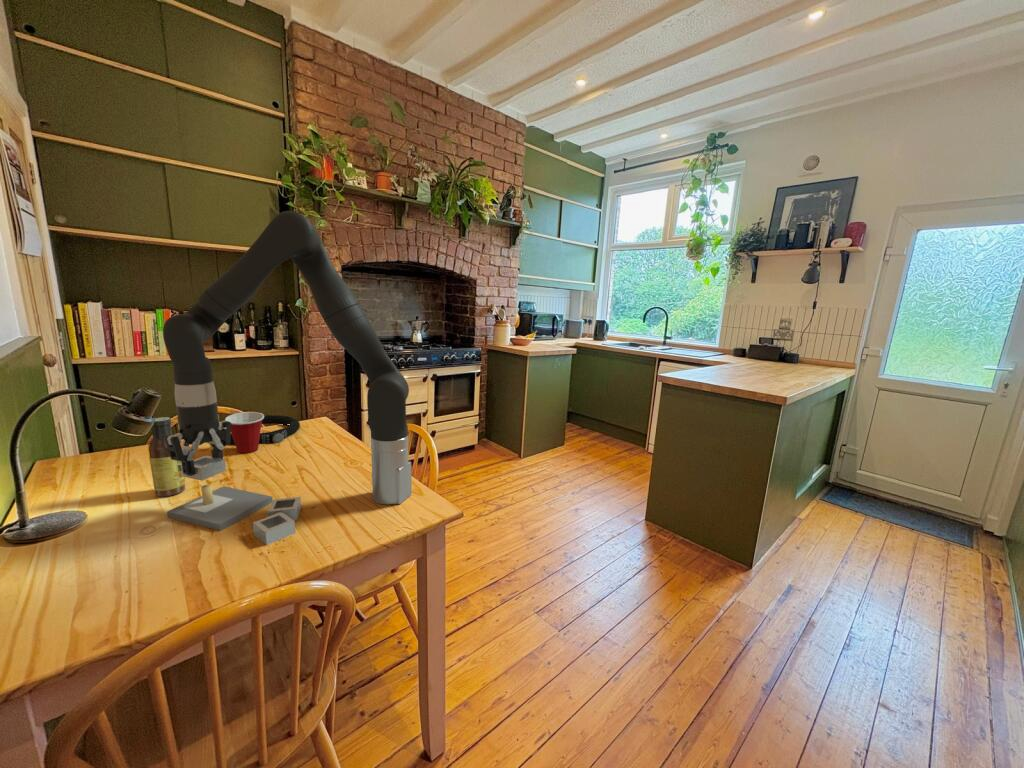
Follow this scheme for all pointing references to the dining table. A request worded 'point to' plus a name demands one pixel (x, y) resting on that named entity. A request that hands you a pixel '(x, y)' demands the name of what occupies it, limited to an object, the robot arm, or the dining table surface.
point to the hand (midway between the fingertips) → (204, 469)
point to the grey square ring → (207, 467)
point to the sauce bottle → (164, 461)
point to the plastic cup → (246, 430)
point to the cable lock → (275, 435)
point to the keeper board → (219, 507)
